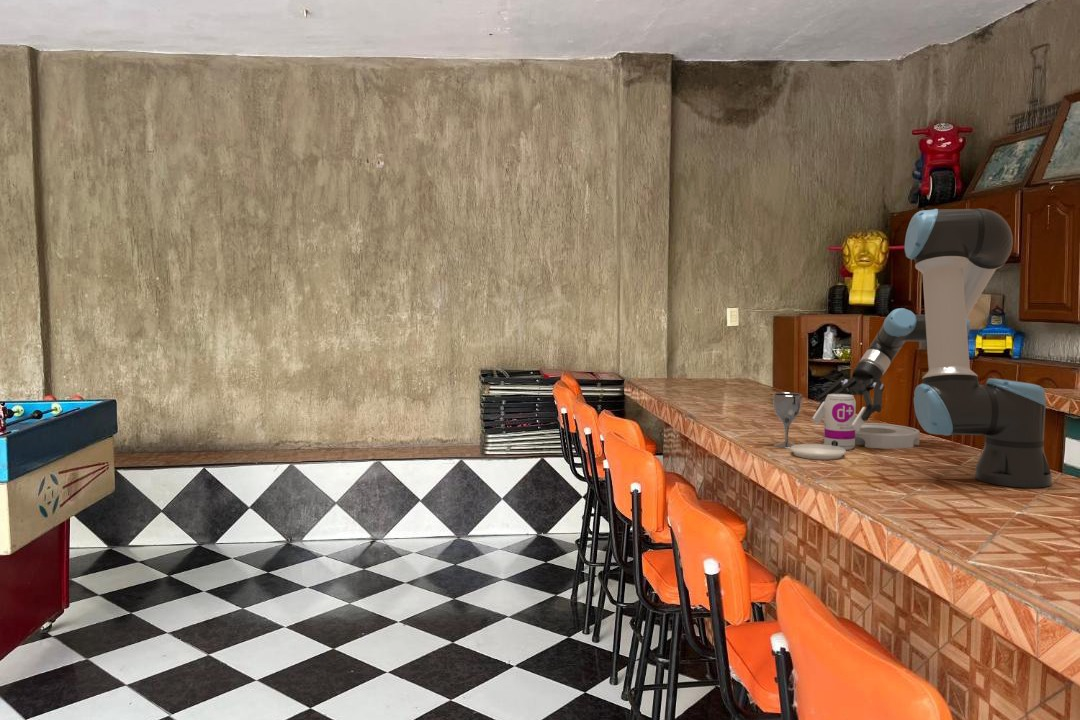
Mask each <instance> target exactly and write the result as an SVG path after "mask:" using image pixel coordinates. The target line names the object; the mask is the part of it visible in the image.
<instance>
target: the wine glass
mask: <svg viewBox="0 0 1080 720" xmlns="http://www.w3.org/2000/svg"><path fill="white" fill-rule="evenodd" d="M802 403H803V394H801V393H798V392H783V391H782V392H773V394H772V404H773V410H774V413H775V415H776V416H777V418H778V419H779V420H780V421H781V423H782V425H783V427H784V432H785V433H784V437H785V439H784V441H782V442H779V443H775V444H773V446H774V447H776V448H782V449H791V446H793V445H796V444H795V443H791V442H789V431H790V426H791V425H792V423H793V421H794V420H796V418H797V417H798V416H799V414H800V412H801V409H802Z"/></svg>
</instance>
